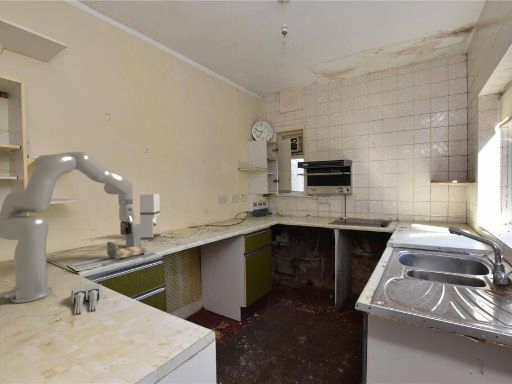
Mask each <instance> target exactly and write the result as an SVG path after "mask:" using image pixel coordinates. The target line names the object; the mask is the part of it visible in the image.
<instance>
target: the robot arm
mask: <svg viewBox="0 0 512 384" xmlns="http://www.w3.org/2000/svg"><path fill="white" fill-rule="evenodd" d="M33 167H34V169H33V171H32V172H31V175H30V177H29V179H28V182H27V185H26V187H25V188H20V189H19V188H18V189H14V190H11V191H10V192H9V193H8V194H7V195H6V196H5V198H4V199H3V202H2V205H1V208H0V238H1V239H4V240H8V241H11V240H12V241H17V243H16V246H15V248H14V253H13V255H14V256H13V258H14V275H15V276H14V277H15V278H14V279H15V280H14V281H15V286H13V288H12V289H10V290H8V291H2V292H0V299H3V298H4V299H8V298H10V301H11V302H12V303H15V304H22V303H30V302H33V301H38V300H42V299H43V298H46V297H48V296H50V295H51V294H52V293H53V292H54V291H53V290H54V289H53V288H52V287H50V286H49V285H48V265H47V239H48V235H49V223H48V222H47V220H45V219H44V218H43V217H41V216H36V215H28V214H29V213H31V214H38V213H43V212H46V211H47V210H48V209H49V208H50V205H51V202H52V198H53V193H54V190H55V187H56V183H57V181H58V179H60V178H61V177H62V176H63V175H66V174H68V173H69V174H70V173H71V172H72V171H79V172H81V173H82V174H83V175H84V176H86V177H87V178H88V179H89V180H91V181H93V182H96V183H98V184H99V183H100V184H104V186H103V190H104V192H105V193H106V194H109V195H112V196H113V195H118V207H119V208H118V210H119V211H118V217H119V221H120V223H121V222H126V234H130V233H132V223H133V224H134V221H135V211H134V205H133V204H134V203H133V202H134V198H133V196H134V195H133V183H132V181H129V180H128V179H126V178H125V177H124V176H123V175H121V174H119V173H117V172H115V171H112V170H110V169H108V168H106V167H104V166H103V165H102V164H101V163H99V162H98V161H97V160H95V159H94V158H93V157H92V156H91V155H90V154H88V153H86V152H84V151H67V152H59V153H52V154H43V155H40V156H37V157H36V158H35V159H34V161H33Z"/></svg>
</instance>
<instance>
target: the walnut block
mask: <svg viewBox="0 0 512 384" xmlns="http://www.w3.org/2000/svg"><path fill="white" fill-rule="evenodd" d="M119 223H120V224H119V226H120V229H119V230H120V235H121V236H126V235H130V234H133V224H134V222H133V223H132V233H130V234H126V222H121V221H120V222H119Z"/></svg>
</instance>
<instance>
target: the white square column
mask: <svg viewBox="0 0 512 384" xmlns="http://www.w3.org/2000/svg"><path fill="white" fill-rule="evenodd" d="M160 204H161V203H160V193H154V194H153V193H152V194H151V193H150V194H148V193H141V194H139V216H140V217H139V218H140V219H139V221H140V222H139V224H140V230H141V241H155V240H157V239H159V238H161V233H160V234H157V233H155V234H154V228H155V226H156V225H157V217H158V216H160V215H161V209H160V208H161V207H160V206H161V205H160Z"/></svg>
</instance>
